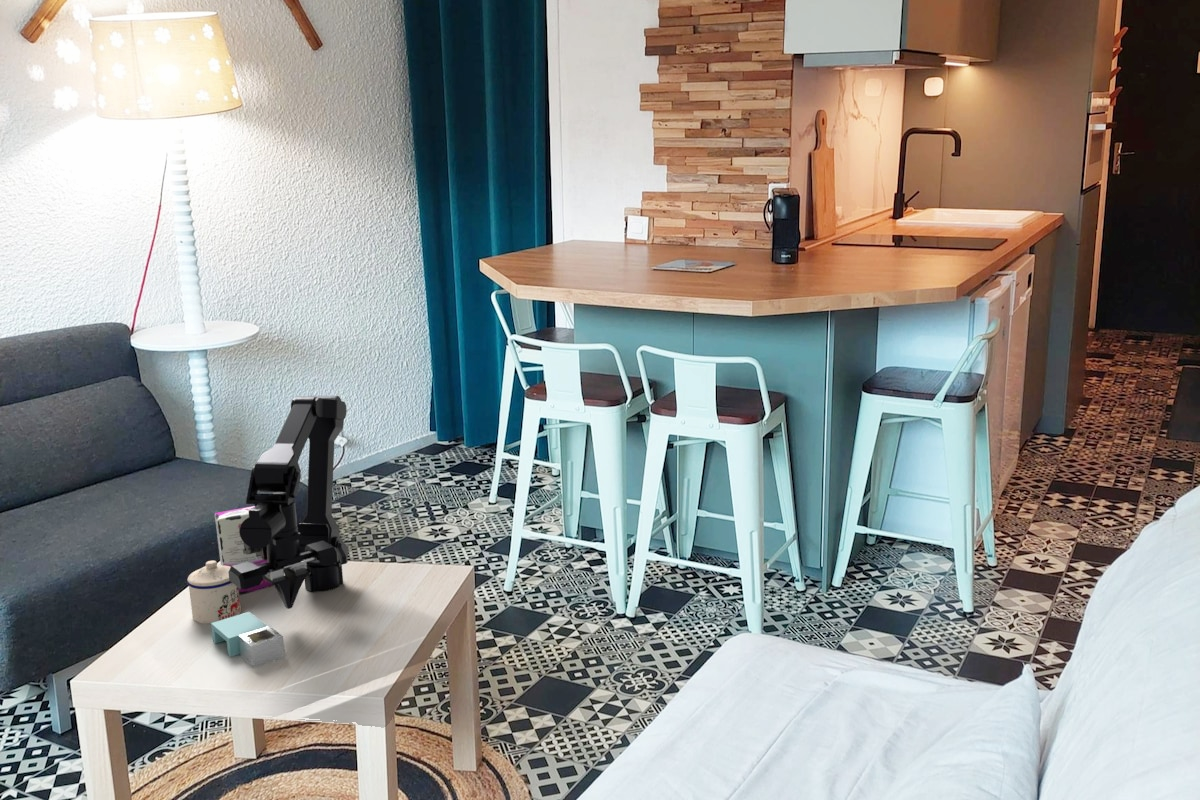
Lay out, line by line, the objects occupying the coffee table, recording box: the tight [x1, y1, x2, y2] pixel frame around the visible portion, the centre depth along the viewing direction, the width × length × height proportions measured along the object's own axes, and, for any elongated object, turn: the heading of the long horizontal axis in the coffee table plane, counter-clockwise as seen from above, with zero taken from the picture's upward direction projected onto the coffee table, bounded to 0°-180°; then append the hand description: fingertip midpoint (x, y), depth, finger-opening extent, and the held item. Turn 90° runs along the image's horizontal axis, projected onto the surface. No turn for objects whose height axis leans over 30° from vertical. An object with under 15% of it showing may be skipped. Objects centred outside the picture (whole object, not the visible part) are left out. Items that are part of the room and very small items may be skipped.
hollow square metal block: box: [238, 625, 286, 669], centre depth 188 cm, size 6×6×4 cm
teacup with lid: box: [186, 560, 242, 624], centre depth 206 cm, size 12×9×12 cm
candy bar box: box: [214, 505, 275, 595], centre depth 219 cm, size 11×5×16 cm, turn 118°
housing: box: [210, 611, 268, 658], centre depth 193 cm, size 7×8×4 cm
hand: (288, 607), depth 200 cm, fingers closed
